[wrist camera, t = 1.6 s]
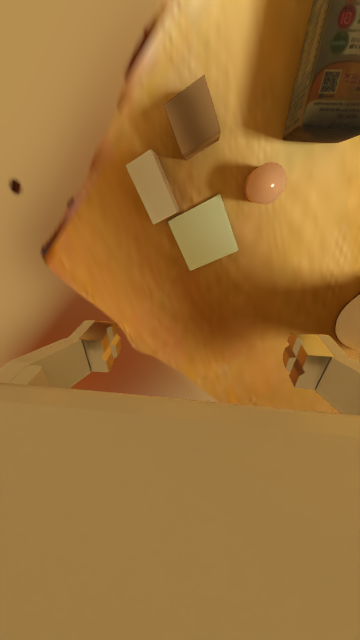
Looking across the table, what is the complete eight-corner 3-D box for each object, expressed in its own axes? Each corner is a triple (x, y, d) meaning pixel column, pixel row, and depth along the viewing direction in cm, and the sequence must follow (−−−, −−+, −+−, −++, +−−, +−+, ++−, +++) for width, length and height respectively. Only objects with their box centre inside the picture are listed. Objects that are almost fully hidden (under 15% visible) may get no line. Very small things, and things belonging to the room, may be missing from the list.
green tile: (220, 193, 31) (220, 193, 31) (238, 249, 35) (238, 250, 35) (168, 221, 34) (167, 221, 34) (190, 270, 38) (189, 271, 38)
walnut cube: (205, 94, 26) (204, 74, 22) (218, 140, 28) (220, 130, 24) (170, 118, 28) (163, 104, 24) (185, 160, 30) (182, 154, 26)
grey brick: (134, 168, 31) (125, 165, 28) (157, 154, 30) (150, 149, 27) (158, 221, 35) (153, 224, 31) (180, 210, 33) (176, 212, 30)
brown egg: (271, 160, 29) (282, 154, 24) (278, 193, 31) (289, 193, 26) (240, 177, 30) (245, 174, 26) (248, 208, 32) (254, 210, 28)
